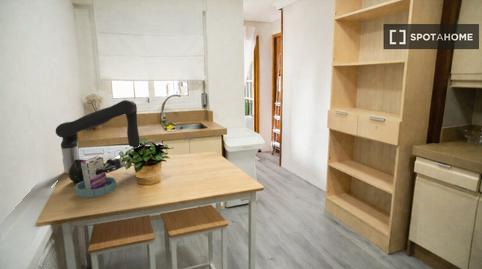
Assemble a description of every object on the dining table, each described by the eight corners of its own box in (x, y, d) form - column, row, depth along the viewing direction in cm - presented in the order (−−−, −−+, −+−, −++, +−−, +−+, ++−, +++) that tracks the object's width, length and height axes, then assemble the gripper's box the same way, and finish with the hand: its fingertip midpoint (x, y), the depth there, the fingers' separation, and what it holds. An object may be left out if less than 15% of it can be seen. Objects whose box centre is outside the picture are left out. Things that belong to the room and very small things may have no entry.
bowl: (68, 194, 160) (66, 187, 159) (98, 181, 178) (98, 174, 177) (93, 200, 152) (92, 192, 151) (123, 185, 169) (122, 179, 169)
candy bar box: (100, 182, 170) (96, 155, 167) (107, 183, 169) (103, 156, 165) (84, 190, 160) (80, 162, 156) (92, 191, 158) (87, 162, 155)
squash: (104, 167, 185) (85, 151, 182) (94, 177, 171) (73, 159, 167) (90, 182, 187) (71, 166, 184) (78, 192, 173) (57, 175, 170)
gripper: (107, 155, 178) (82, 164, 163) (124, 158, 172) (100, 167, 158) (108, 167, 180) (84, 177, 165) (126, 170, 174) (102, 180, 159)
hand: (92, 172), depth 161 cm, fingers closed on candy bar box, 5 cm apart
